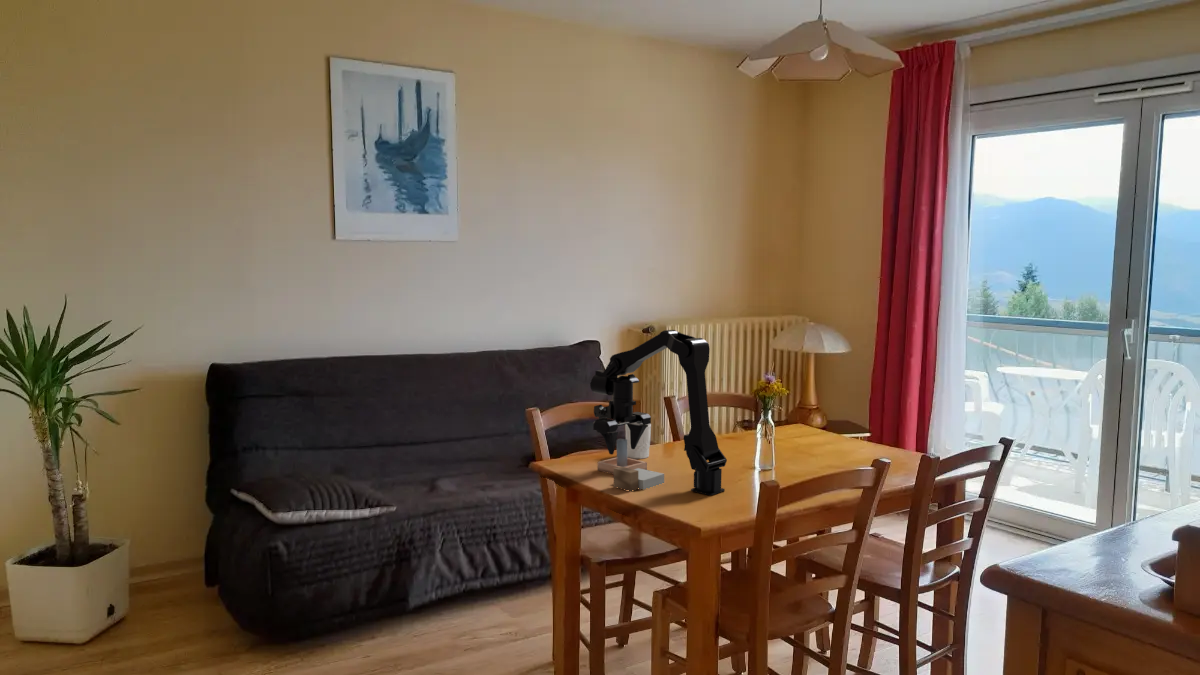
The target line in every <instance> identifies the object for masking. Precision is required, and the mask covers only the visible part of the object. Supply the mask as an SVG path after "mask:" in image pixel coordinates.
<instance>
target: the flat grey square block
mask: <svg viewBox="0 0 1200 675" xmlns="http://www.w3.org/2000/svg"><path fill="white" fill-rule="evenodd" d="M634 470H638V488H639V489H638V490H641V489H643V490H642V491H645V490H647V489H646V488H648V489H651V488H650V487H652V488H654V487H653V486H655V487H657V486H656V485H658V486H660V485H659V484H661V485H663V484H662V483H664V484H665V473H664V472H658V471H652V470H648V469H647V470H645V469H640V468H637V469H634ZM644 489H645V490H644Z"/></svg>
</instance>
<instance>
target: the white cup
mask: <svg viewBox="0 0 1200 675" xmlns="http://www.w3.org/2000/svg"><path fill="white" fill-rule="evenodd" d="M646 425H648V427H646V429H645V430H644V432H643V434H642V436H641V437H640V439H639V441H638V443H637V445H636V447H635V449H631V441H630V429H629V427H628V425H627V424H626V425H624V426H625V427H624V428H625V439H627V458H631V459H635V460H639V459H647V458H649V457H650V447H651V446H650V445H651V432H652V423H651V424H646Z"/></svg>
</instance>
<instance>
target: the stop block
mask: <svg viewBox="0 0 1200 675" xmlns="http://www.w3.org/2000/svg"><path fill="white" fill-rule="evenodd" d="M615 487H618V488H617V489H619V488H622V489H625V490H624V491H626V490H629V491H628V492H630V491H631V492H633V491H632V490H635V491H637V490H636V489H638V470H633V469H629V468H625V467H618V468H614V474H613V488H615ZM622 489H621V490H622ZM638 490H639V489H638Z"/></svg>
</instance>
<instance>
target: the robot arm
mask: <svg viewBox="0 0 1200 675" xmlns="http://www.w3.org/2000/svg"><path fill="white" fill-rule="evenodd" d="M666 349H668V350H669V351H670V352H671V353H673V354H674V355H675V354H676V355H677V356H678V357H677V358H678V361H679V365H680V366H681V367H682V369H683V371H684V373H685V376H686V387H687V389H686V390H687V398H688V411H689V421H690V430H689V432H688V434H684V435H683V442H684V448H683V451H685V453H686V457H687V458H688V461H689V464H690V468H691V470H694V471H693V488H691V489H690V491H692V492H695V493H698V494H702V495H707V496H713V495H717V494H720V493H722V492H725V491H726V490H725V488H723V487H722V470H723V468H724V467H726V464H727V461H728V459H727V457H726V456H725V455H724V453H723V452H722V450H721V449H720V448H719V444H718V441H717V436H716V434H715V433H714V430H713V429H712V428H711V425H710V414H709V403H708V391H707V382H706V381H707V380H706V370H707V366H708V364H709V362H710V351H711V350H710V344H709V342H708V341H707V340H706V339H704V338H702V337H694V336H691V335H689V334H685V333H681V332H679V331H677V330H676V329H667V330H662V331H661V332H659V333H658V334H657V335H655V336H654V337H652V338H650V339H648V340H646V341H645V342H643V343H640V344H639V345H638V346H636V347H635V348H632V349H630V350H629V349H628V350H625V351H622V352H618V353H615V354H612V355H611V356H610V358H609V363H608V364H607V366H606V367H605V369H604V370H602V369H598V370H595V375H593V376H592V377H591V378H592V379H591V380H590V381H591V382H590V383H589V385H590V386H589V387H590V390H591V392H593V394H597V395H598V394H599V395H604V396H605V395H606V396H612V400H609V402H608V405H607V406H603V404H598V405H597V404H596V405H594V407H593V415H594V417H596V418H598V419H595V420H594V421H593V426H592V427H593V431H596V432H597V433H599V434H601V436H602V437H603V439H604V442H605V446H606V448H607V451H608V453H609V455H614V453H615V450H616V446H617V439H618V435H619V431H617V430H618V428H619V427H620V426H625V425H626V424H627V425H628V427H629V429H630V441H631V449H635V447H636V445H637V443H638V441H639V439H640V437H641V436H642V434H643V432H644V430H645V429H646V427H648V425H646V424H651V425H652V422H651V421H652V417H651V415H650V414H649V413H647V412H639V411H634V410H633V409H634V407H633V406H637V401H636V400H634V399H633V398H634V384H637V383H640V380H639V378H638V377H637V376H636V375H635V374H634V372H635V371H637V370H638V369H639V368H640V367H641V366H642V364H643V362H645V361H646V360H648V359H649V358H651V357H653V356H655V355H657V354H658V353H660V352H662V351H664V350H666ZM631 373H632V374H631ZM627 374H628V375H627Z"/></svg>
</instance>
